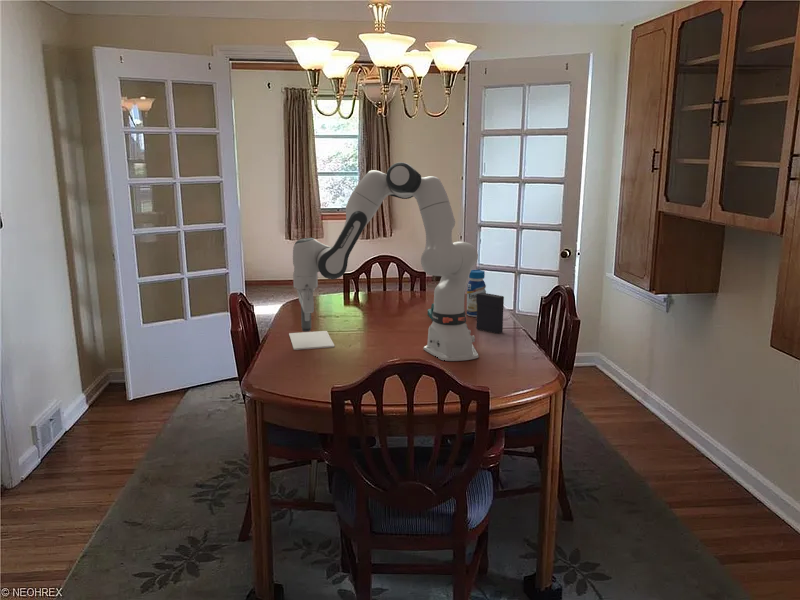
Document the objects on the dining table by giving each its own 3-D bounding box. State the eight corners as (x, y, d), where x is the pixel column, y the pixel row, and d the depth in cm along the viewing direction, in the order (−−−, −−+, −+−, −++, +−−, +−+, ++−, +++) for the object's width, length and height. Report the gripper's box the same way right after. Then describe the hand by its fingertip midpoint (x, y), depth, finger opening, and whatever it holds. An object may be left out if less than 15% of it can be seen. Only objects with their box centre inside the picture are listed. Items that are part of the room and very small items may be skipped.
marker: (312, 331, 237) (311, 300, 234) (302, 332, 236) (301, 300, 233) (311, 328, 240) (310, 297, 237) (301, 329, 239) (300, 298, 236)
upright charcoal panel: (503, 332, 257) (505, 295, 254) (497, 334, 254) (499, 297, 251) (481, 327, 265) (482, 291, 261) (475, 329, 261) (476, 293, 258)
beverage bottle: (484, 312, 289) (485, 269, 284) (486, 317, 281) (487, 272, 276) (465, 312, 289) (466, 269, 285) (466, 317, 281) (468, 272, 276)
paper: (334, 347, 237) (334, 345, 236) (293, 350, 233) (293, 348, 233) (326, 332, 256) (326, 330, 256) (289, 334, 253) (288, 333, 253)
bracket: (449, 322, 272) (449, 305, 270) (433, 323, 271) (434, 305, 269) (440, 312, 289) (441, 295, 288) (426, 313, 289) (426, 296, 287)
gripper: (317, 287, 225) (318, 325, 228) (311, 276, 244) (312, 311, 247) (299, 288, 223) (300, 326, 226) (294, 277, 242) (295, 312, 246)
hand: (306, 318), depth 237 cm, fingers closed on marker, 4 cm apart
